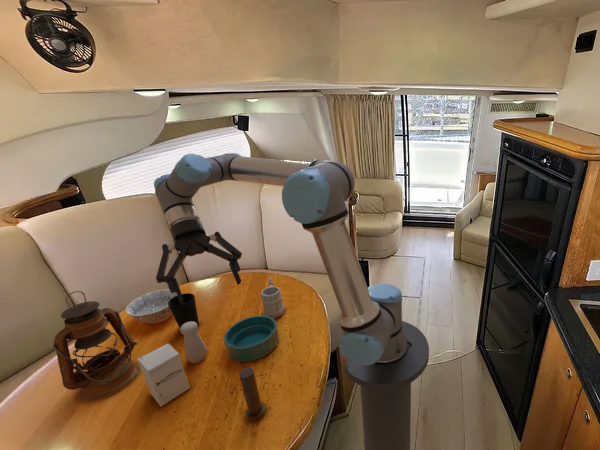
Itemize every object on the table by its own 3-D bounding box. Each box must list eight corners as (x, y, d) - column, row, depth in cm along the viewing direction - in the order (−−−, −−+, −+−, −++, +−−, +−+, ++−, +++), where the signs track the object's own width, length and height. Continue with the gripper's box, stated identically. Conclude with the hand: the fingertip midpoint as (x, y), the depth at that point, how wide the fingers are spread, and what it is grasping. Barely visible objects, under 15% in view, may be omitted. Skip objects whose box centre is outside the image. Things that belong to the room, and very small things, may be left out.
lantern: (126, 354, 99) (92, 272, 88) (156, 364, 96) (124, 279, 85) (59, 399, 84) (7, 306, 73) (90, 412, 81) (41, 317, 70)
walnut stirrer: (268, 406, 82) (259, 365, 77) (260, 421, 78) (251, 380, 73) (252, 405, 82) (242, 365, 77) (243, 421, 78) (232, 379, 73)
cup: (206, 325, 112) (198, 297, 108) (184, 338, 106) (175, 308, 102) (195, 318, 116) (187, 290, 112) (172, 330, 110) (163, 301, 105)
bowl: (159, 334, 108) (153, 317, 105) (120, 330, 110) (113, 312, 107) (194, 307, 122) (190, 290, 120) (159, 303, 125) (154, 287, 122)
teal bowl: (286, 329, 110) (283, 315, 108) (267, 364, 95) (264, 348, 93) (242, 329, 110) (239, 315, 108) (217, 363, 96) (213, 347, 94)
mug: (263, 321, 114) (257, 293, 110) (264, 303, 124) (259, 277, 120) (285, 316, 117) (280, 289, 112) (284, 299, 127) (280, 273, 123)
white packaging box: (161, 408, 82) (146, 371, 77) (150, 394, 86) (135, 358, 81) (191, 388, 87) (179, 353, 83) (179, 376, 91) (167, 341, 87)
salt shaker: (196, 367, 94) (185, 333, 90) (182, 362, 96) (171, 328, 91) (213, 353, 99) (203, 320, 95) (199, 349, 101) (189, 316, 96)
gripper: (232, 220, 98) (258, 279, 94) (131, 243, 82) (156, 316, 78) (234, 208, 93) (261, 270, 88) (126, 230, 77) (153, 308, 72)
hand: (212, 292), depth 83 cm, fingers open, 13 cm apart
